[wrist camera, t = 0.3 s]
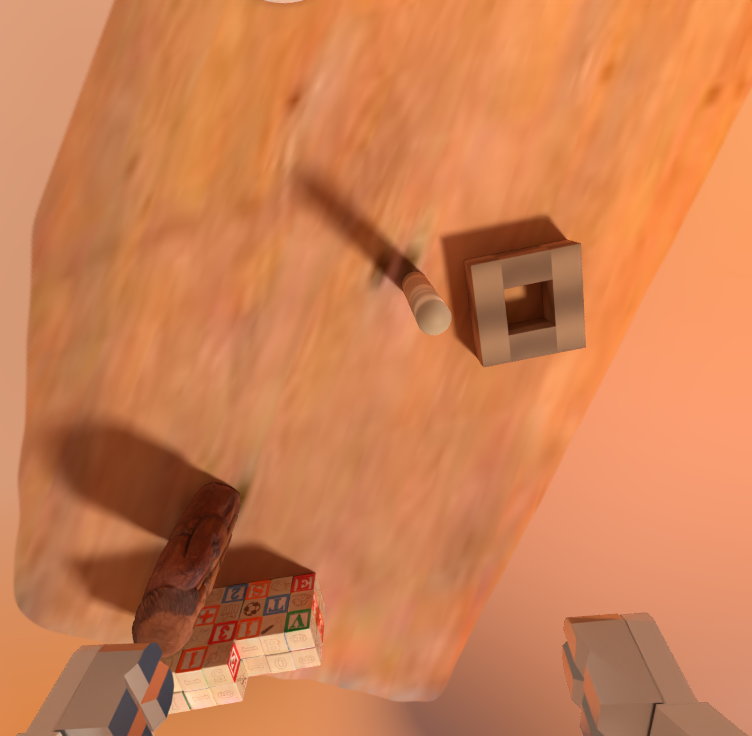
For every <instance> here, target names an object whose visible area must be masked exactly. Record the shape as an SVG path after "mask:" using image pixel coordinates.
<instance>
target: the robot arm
mask: <svg viewBox="0 0 752 736" xmlns="http://www.w3.org/2000/svg"><path fill="white" fill-rule="evenodd" d="M265 1H269V2H276V3H291V2H298V1H302V0H265ZM564 633H565V636H566V639H567V642H566V643H565V644H564V645H563V649H562V650H563V651H562V657H563V658H562V659H563V666H564V673H565V678H566V682H567V686H568V689H569V692H570V695H571V699H572V700H573V701H574V702H575V703H576V704H577V705H578V706H579V707H580V708H581V717H580V728H581V731H582V734H583V736H748V735H747V734H746V733H744V732H743V731H742V730H741V729H739V728H738V727H737V726H736V725H735V724H733V723H732V722H731V721H730V720H728V719H727V718H726V717H724V716H723V715H722V714H721V713H720V712H718V711H717V710H716V709H715V708H714V707H712V706H711V705H710V704H709V703H707V702H698V701H697V699H696V697H695V695H694V693H693V692H692V690H691V688H690V686H689V684H688V682H687V680H686V679H685V677H684V675H683V673H682V671H681V669H680V667H679V666H678V664H677V662H676V660H675V658H674V656H673V654H672V652H671V651H670V649H669V647H668V645H667V643H666V641H665V639H664V637H663V635H662V634H661V632H660V630H659V628H658V626H657V624H656V622H655V620H654V619H653V617H651V616H650V615H649V614H648V613H634V614H622V615H618V614H608V615H595V616H582V617H568V618H566V619H565V621H564ZM161 655H162V651H161V649H160V647H159V645H158V644H157V642H156V643H132V644H103V645H86V646H81V647H80V648H79V649H78V650H77V651H76V652H74V654H73V655H72V657H71V658H70V660H69V662H68V663H67V665H66V666H65V668H64V670H63V672H62V673H61V675H60V677H59V678H58V680H57V682H56V684H55V685H54V687H53V688H52V690H51V692H50V693H49V695H48V697H47V698H46V700H45V702H44V703H43V705H42V707H41V708H40V710H39V712H38V713H37V715H36V717H35V718H34V720H33V722H32V723H31V725H30V727H29V728H28V730H27V732H26V733H18V734H17V735H16V736H155V733H154V731H155V730H156V729H157V728H158V727H159V726H160V725H161V724H162V723H163V721H164V720H165V719H166V718H167V715H168V712H169V710H170V707H171V704H172V699H173V692H174V680H173V674H172V672H171V670H170V667H169V666H167V665H166V664H164V663H162V662H161V661H159V660H160V658H161Z"/></svg>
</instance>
